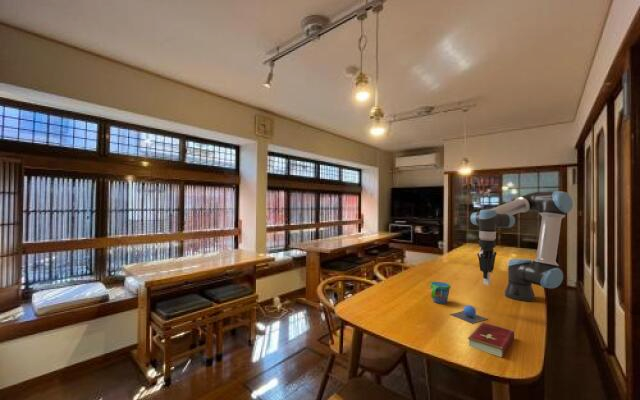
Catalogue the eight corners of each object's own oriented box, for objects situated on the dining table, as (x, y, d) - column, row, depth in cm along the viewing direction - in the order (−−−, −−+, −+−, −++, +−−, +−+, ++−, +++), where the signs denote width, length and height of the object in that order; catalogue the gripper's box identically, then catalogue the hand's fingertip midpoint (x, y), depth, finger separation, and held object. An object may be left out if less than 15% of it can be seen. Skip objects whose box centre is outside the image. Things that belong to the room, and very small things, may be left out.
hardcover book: (514, 340, 119) (514, 330, 120) (503, 359, 104) (503, 348, 104) (482, 330, 128) (482, 321, 128) (467, 347, 113) (467, 336, 113)
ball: (469, 317, 144) (472, 307, 145) (476, 320, 139) (479, 309, 140) (459, 312, 144) (463, 302, 145) (466, 315, 139) (469, 304, 140)
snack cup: (439, 296, 171) (440, 279, 171) (456, 302, 162) (456, 284, 162) (423, 301, 163) (423, 283, 163) (440, 307, 154) (440, 288, 154)
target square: (465, 310, 150) (465, 310, 150) (488, 319, 139) (488, 318, 139) (450, 314, 144) (450, 314, 144) (472, 323, 133) (472, 323, 133)
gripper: (487, 237, 154) (487, 281, 154) (472, 239, 148) (471, 284, 148) (502, 239, 148) (501, 285, 148) (486, 240, 142) (485, 288, 142)
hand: (486, 284), depth 148 cm, fingers closed
